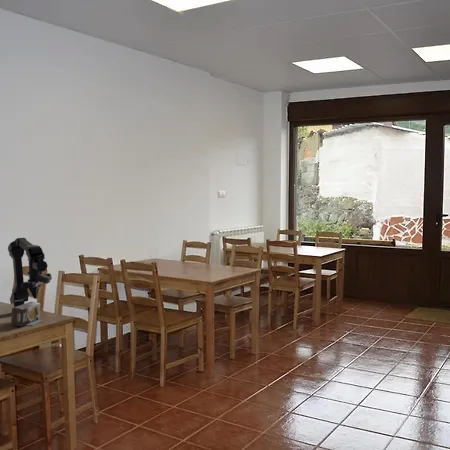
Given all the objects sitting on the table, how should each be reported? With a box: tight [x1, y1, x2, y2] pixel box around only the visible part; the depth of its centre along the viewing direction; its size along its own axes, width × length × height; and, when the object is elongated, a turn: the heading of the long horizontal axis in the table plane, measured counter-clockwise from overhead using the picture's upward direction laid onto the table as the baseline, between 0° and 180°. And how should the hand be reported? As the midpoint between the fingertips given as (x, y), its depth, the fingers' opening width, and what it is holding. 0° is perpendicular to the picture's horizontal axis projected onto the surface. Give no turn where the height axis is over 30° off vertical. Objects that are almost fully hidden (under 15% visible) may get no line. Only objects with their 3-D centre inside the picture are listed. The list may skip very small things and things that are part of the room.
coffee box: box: [10, 301, 41, 327], centre depth 282 cm, size 9×6×16 cm
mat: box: [24, 319, 43, 327], centre depth 283 cm, size 11×9×1 cm
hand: (35, 298), depth 290 cm, fingers closed
